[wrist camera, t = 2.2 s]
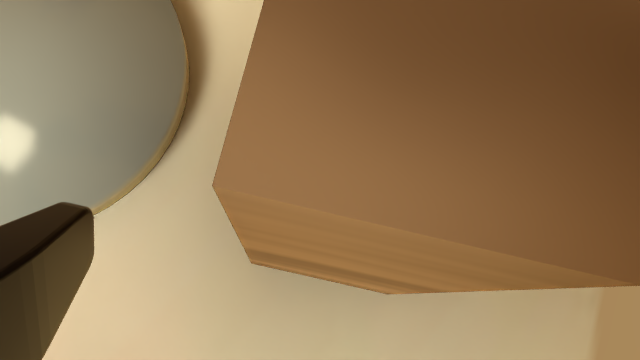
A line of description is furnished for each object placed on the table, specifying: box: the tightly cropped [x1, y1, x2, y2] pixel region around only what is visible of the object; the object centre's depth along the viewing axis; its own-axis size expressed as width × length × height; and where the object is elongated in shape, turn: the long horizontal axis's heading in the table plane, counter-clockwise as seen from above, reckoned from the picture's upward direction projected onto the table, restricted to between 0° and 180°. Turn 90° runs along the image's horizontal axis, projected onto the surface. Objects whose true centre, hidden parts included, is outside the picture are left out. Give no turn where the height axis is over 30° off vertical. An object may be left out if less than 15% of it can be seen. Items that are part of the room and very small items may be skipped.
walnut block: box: [212, 0, 640, 294], centre depth 12 cm, size 5×5×12 cm
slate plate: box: [0, 0, 189, 226], centre depth 18 cm, size 12×12×1 cm
